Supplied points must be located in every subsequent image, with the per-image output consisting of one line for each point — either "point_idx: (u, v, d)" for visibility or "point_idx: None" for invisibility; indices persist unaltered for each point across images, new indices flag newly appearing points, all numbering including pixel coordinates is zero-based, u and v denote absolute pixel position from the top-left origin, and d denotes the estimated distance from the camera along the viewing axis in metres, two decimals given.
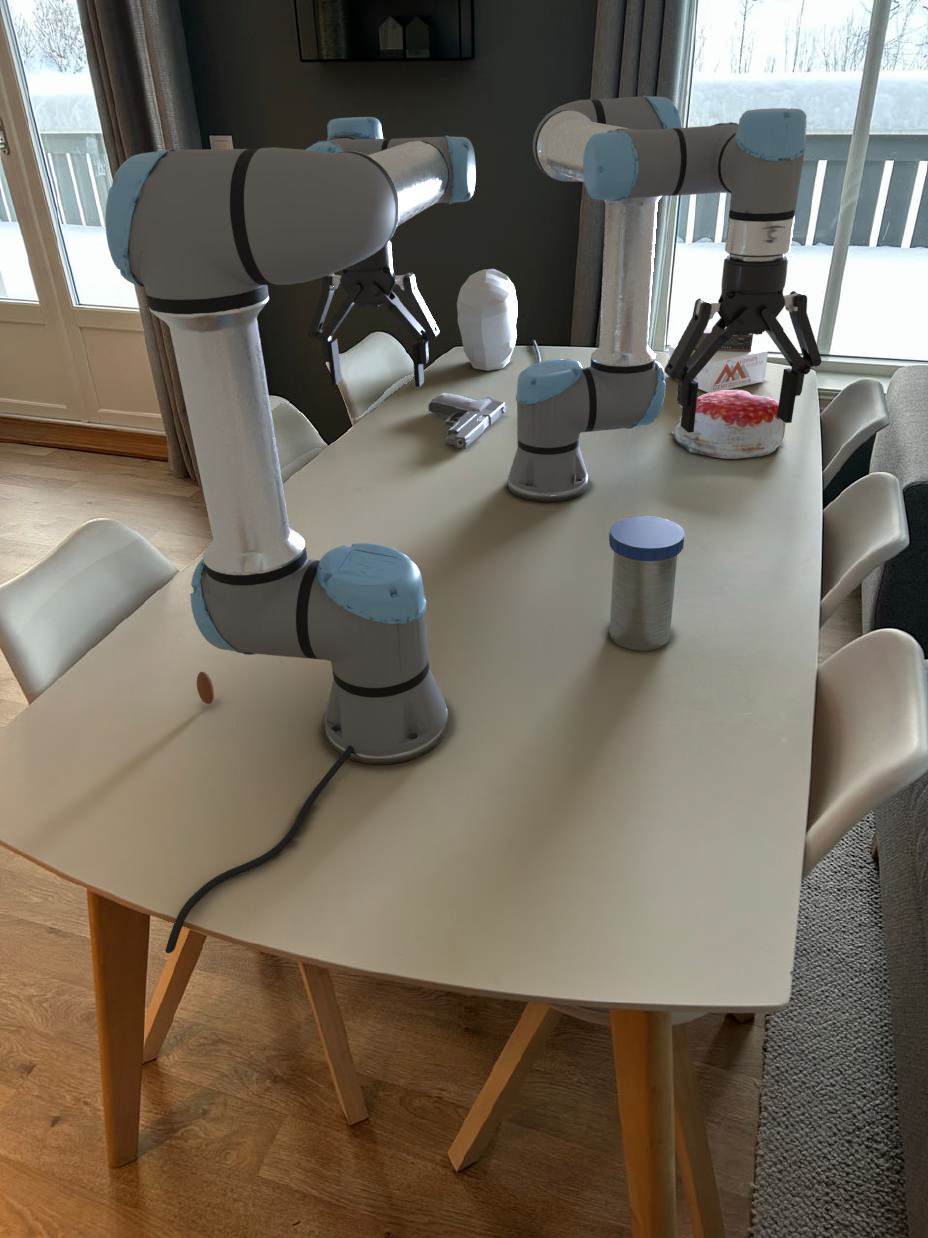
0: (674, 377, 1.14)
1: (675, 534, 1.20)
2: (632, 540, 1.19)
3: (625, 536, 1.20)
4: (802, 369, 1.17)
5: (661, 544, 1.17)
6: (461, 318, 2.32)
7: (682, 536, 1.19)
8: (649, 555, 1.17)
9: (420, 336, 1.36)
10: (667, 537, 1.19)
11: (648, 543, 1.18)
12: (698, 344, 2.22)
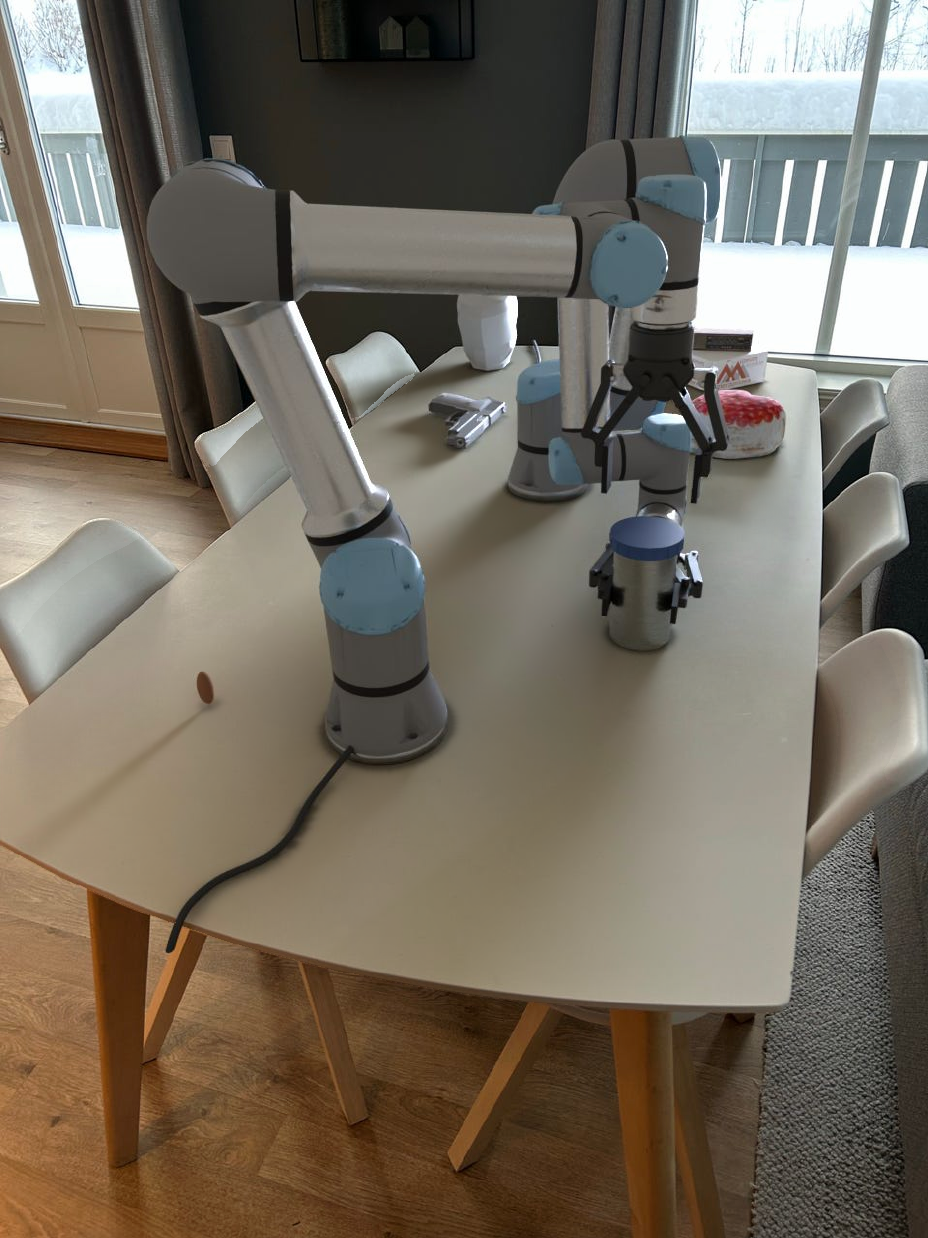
0: (697, 597, 1.27)
1: (675, 534, 1.20)
2: (632, 540, 1.19)
3: (625, 536, 1.20)
4: None
5: (661, 544, 1.17)
6: (461, 318, 2.32)
7: (682, 536, 1.19)
8: (649, 555, 1.17)
9: None
10: (667, 537, 1.19)
11: (648, 543, 1.18)
12: (698, 344, 2.22)
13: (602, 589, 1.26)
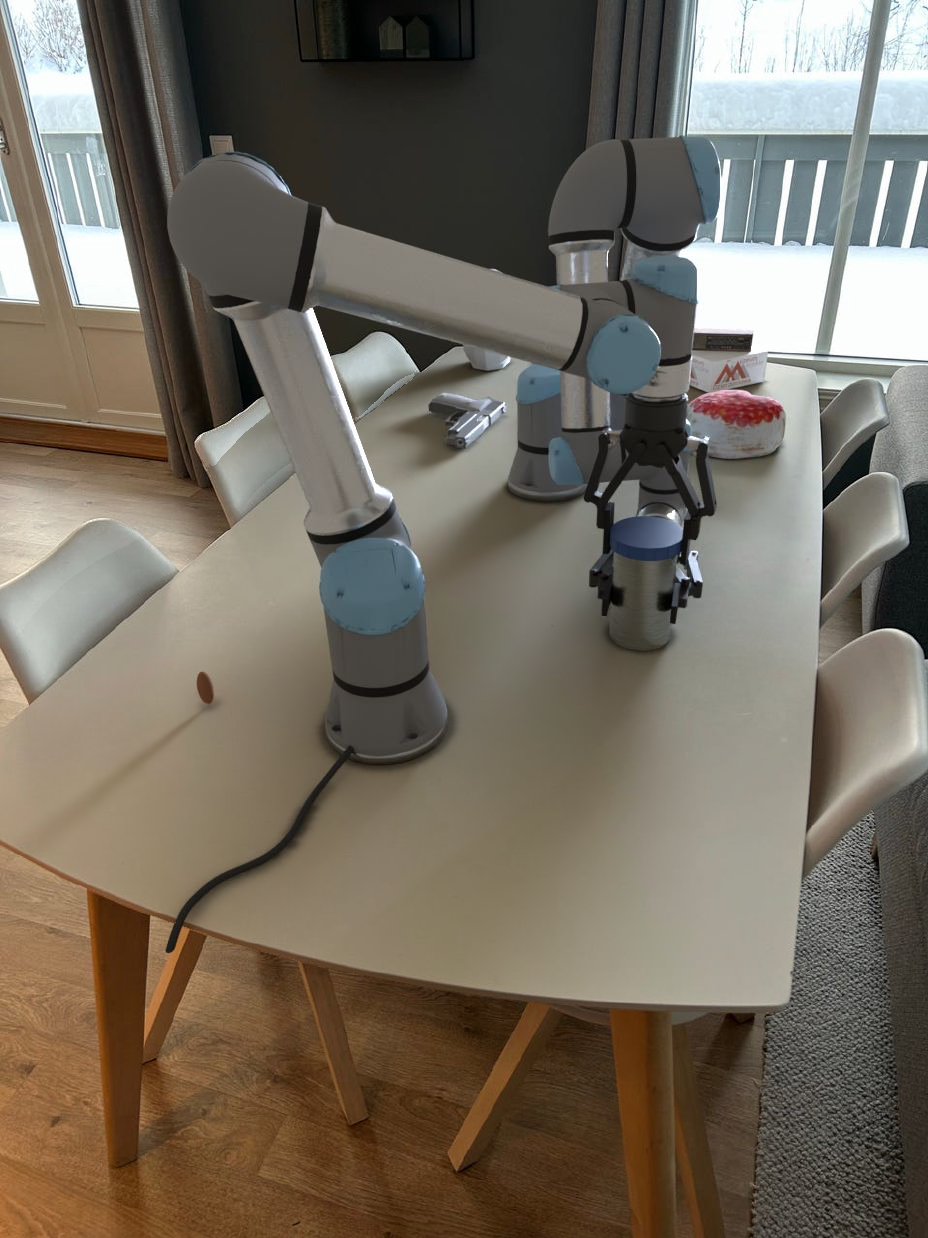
0: (697, 597, 1.27)
1: (675, 534, 1.20)
2: (632, 540, 1.19)
3: (625, 536, 1.20)
4: None
5: (661, 544, 1.17)
6: None
7: None
8: (649, 555, 1.17)
9: None
10: (667, 537, 1.19)
11: (648, 543, 1.18)
12: (698, 344, 2.22)
13: (602, 589, 1.26)
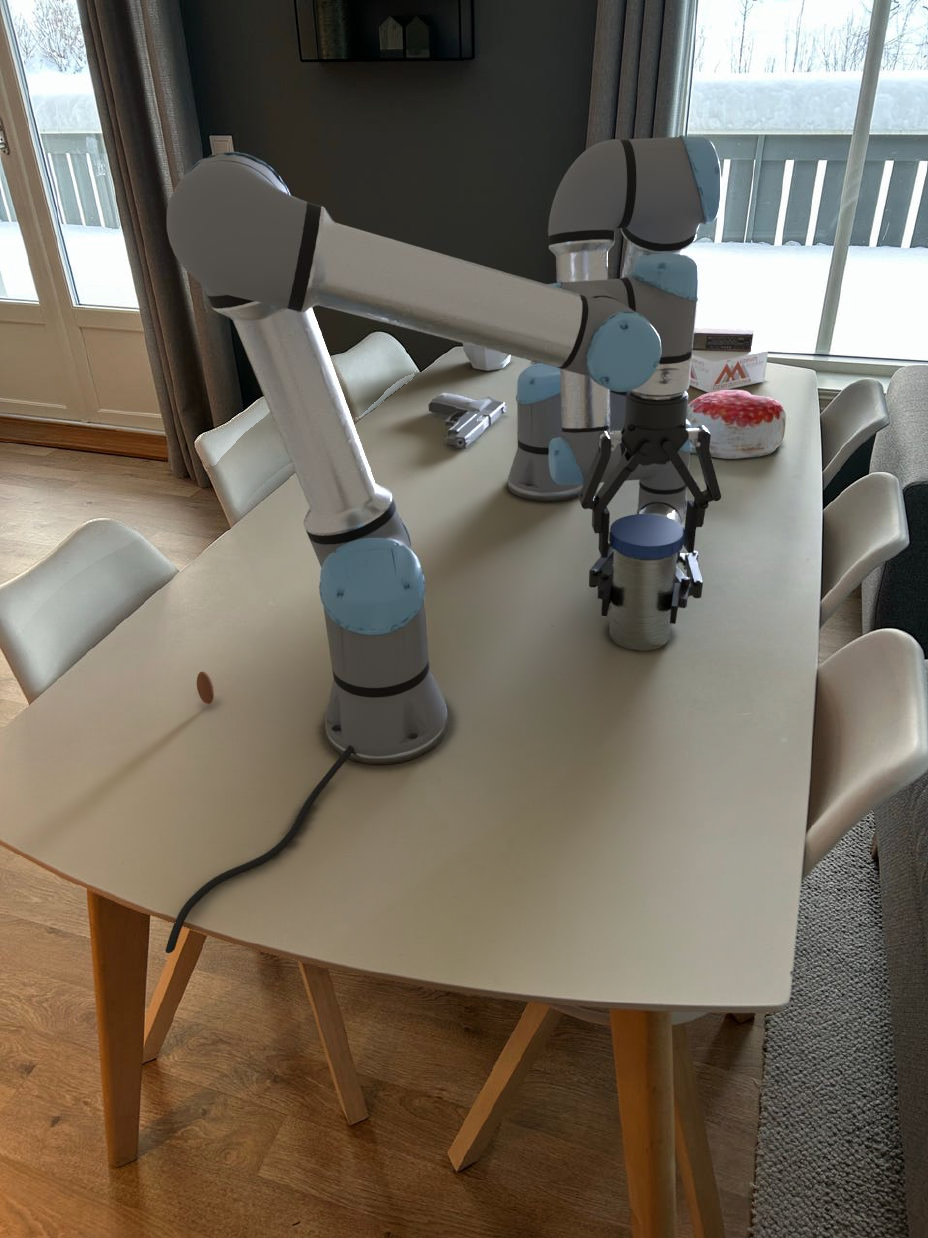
0: (697, 597, 1.27)
1: (649, 517, 1.24)
2: (669, 536, 1.19)
3: (661, 539, 1.18)
4: None
5: (673, 523, 1.22)
6: None
7: (652, 514, 1.24)
8: None
9: None
10: (657, 520, 1.23)
11: (673, 529, 1.20)
12: (698, 344, 2.22)
13: (602, 589, 1.26)
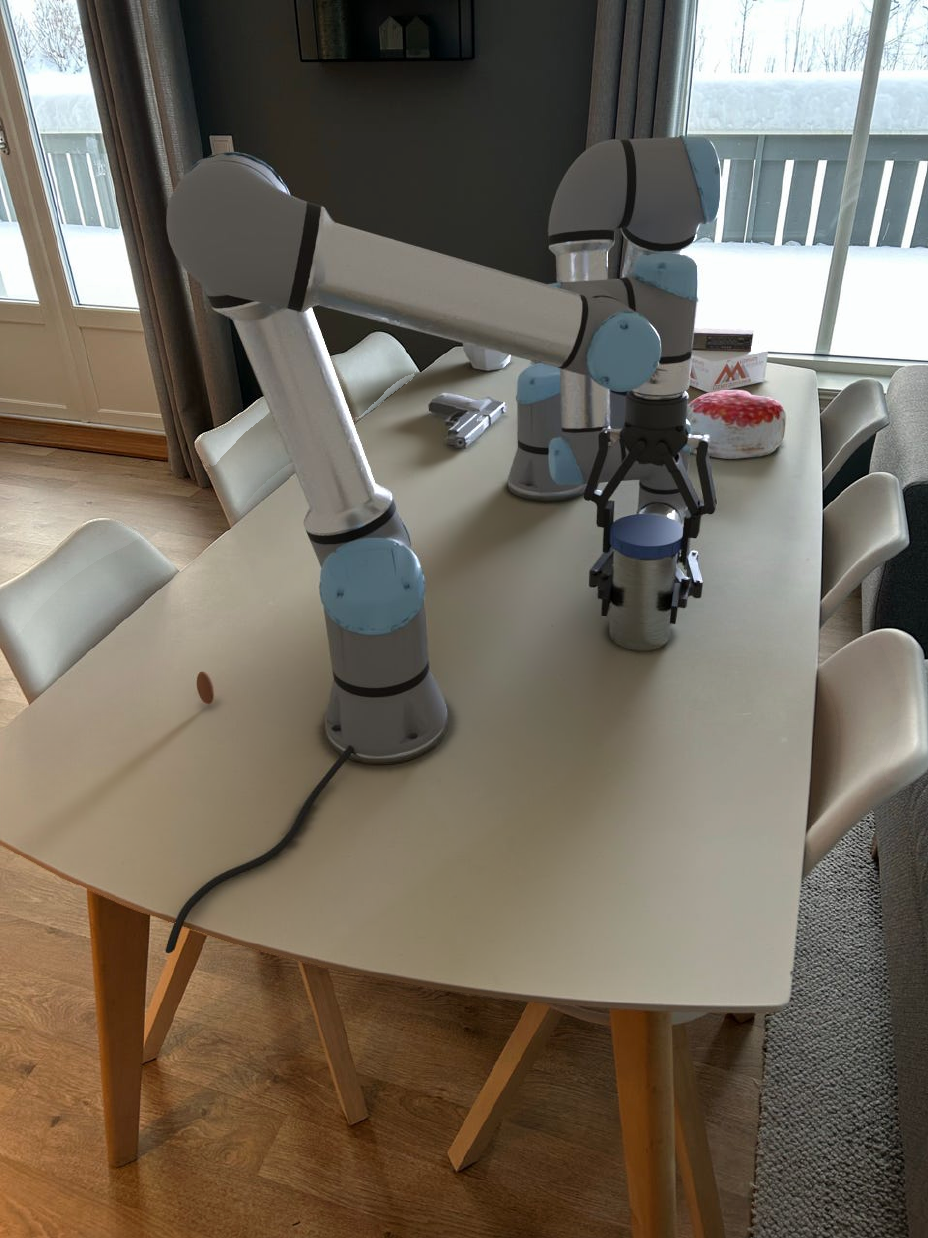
0: (697, 597, 1.27)
1: (649, 517, 1.24)
2: (669, 536, 1.19)
3: (661, 539, 1.18)
4: None
5: (673, 523, 1.22)
6: None
7: (652, 514, 1.24)
8: None
9: None
10: (657, 520, 1.23)
11: (673, 529, 1.20)
12: (698, 344, 2.22)
13: (602, 589, 1.26)
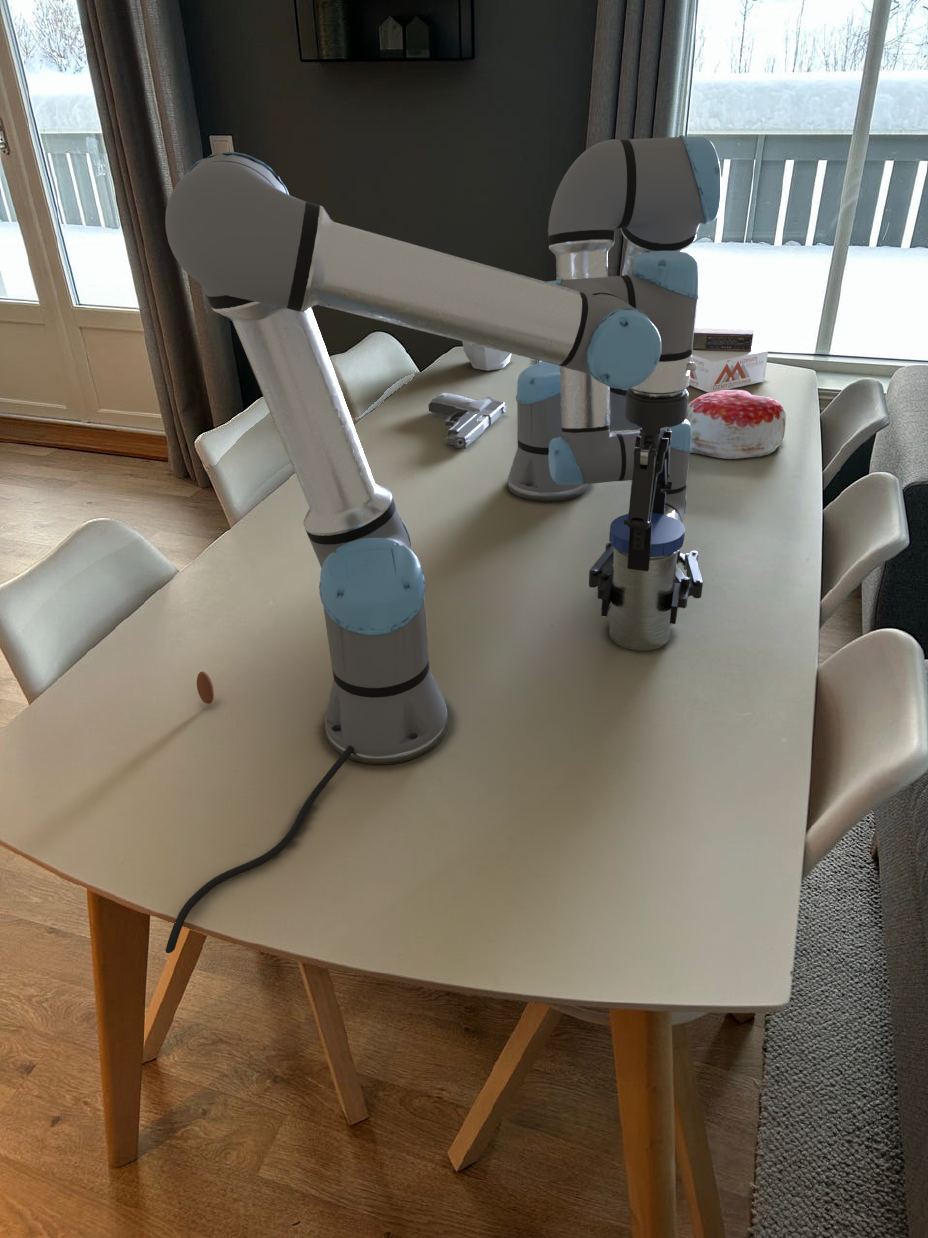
0: (697, 597, 1.27)
1: (618, 525, 1.21)
2: (660, 518, 1.23)
3: (667, 522, 1.21)
4: None
5: None
6: None
7: (612, 523, 1.22)
8: None
9: None
10: None
11: None
12: (698, 344, 2.22)
13: (602, 589, 1.26)
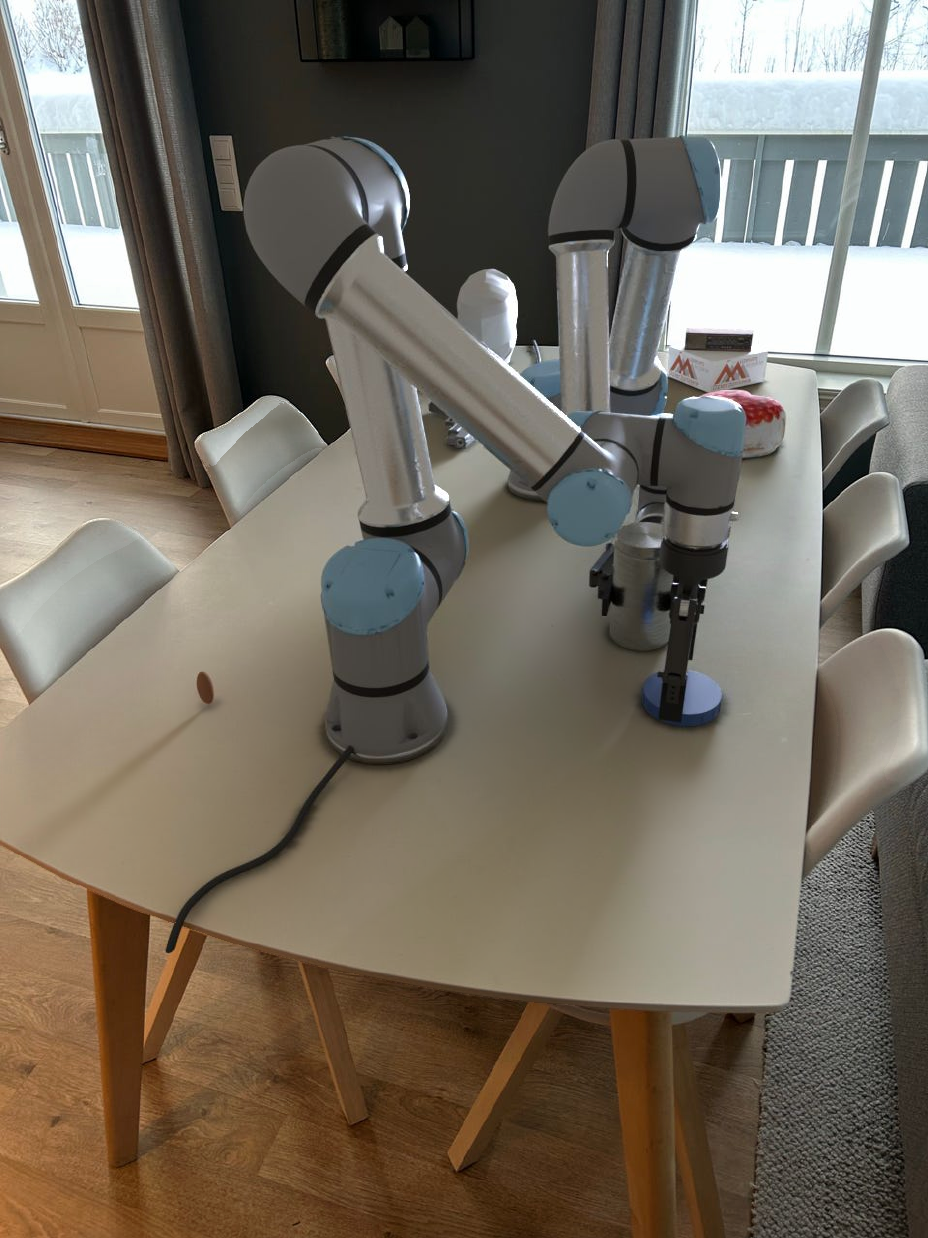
0: None
1: (652, 688, 1.15)
2: (694, 678, 1.17)
3: (702, 683, 1.16)
4: None
5: None
6: (461, 318, 2.32)
7: (644, 685, 1.16)
8: None
9: None
10: (659, 683, 1.16)
11: None
12: (698, 344, 2.22)
13: (602, 589, 1.26)
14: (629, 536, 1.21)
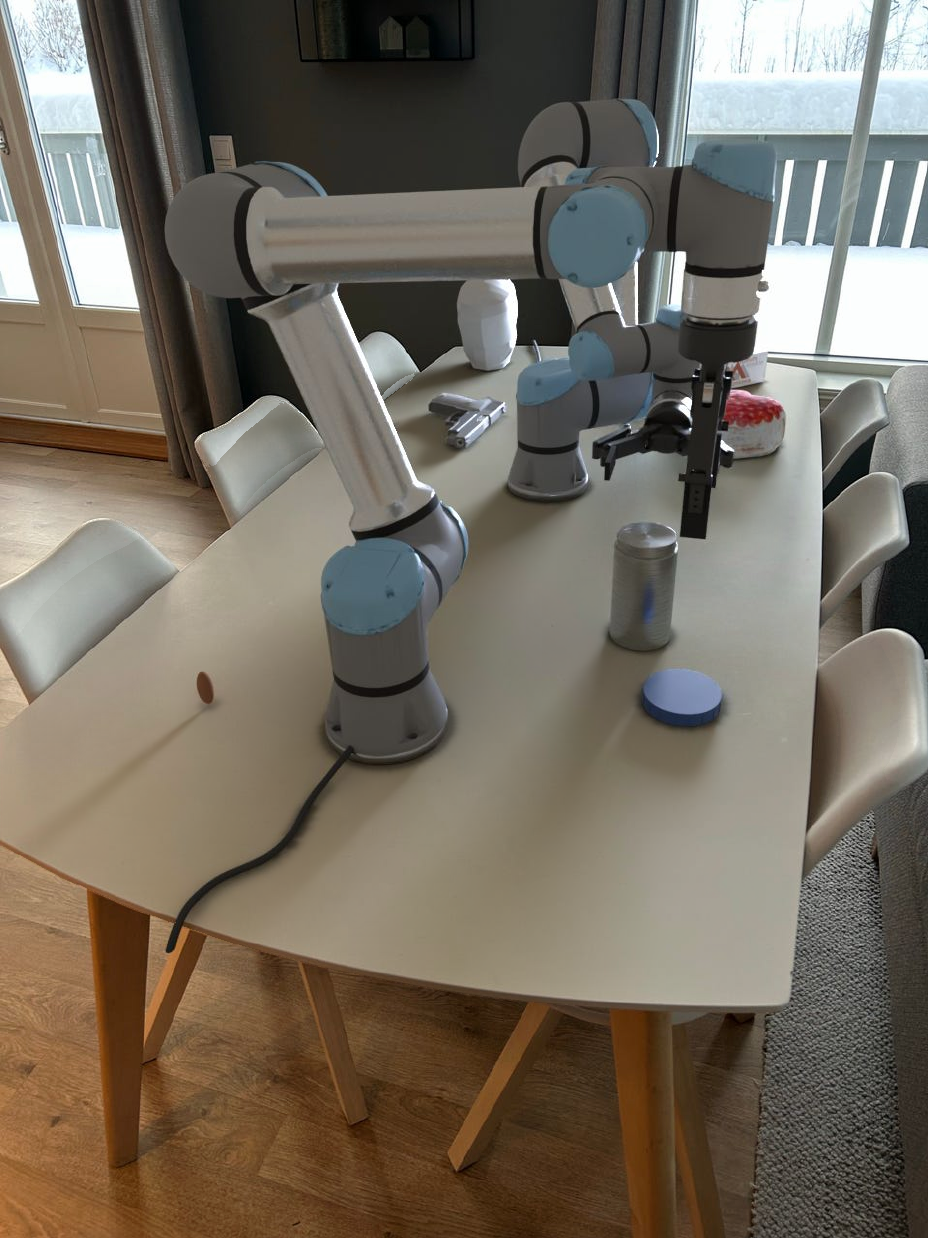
0: (728, 467, 1.30)
1: (652, 688, 1.15)
2: (694, 678, 1.17)
3: (702, 683, 1.16)
4: None
5: (664, 674, 1.18)
6: (461, 318, 2.32)
7: (644, 685, 1.16)
8: None
9: None
10: (659, 683, 1.16)
11: (677, 674, 1.17)
12: None
13: (605, 456, 1.30)
14: (629, 536, 1.21)
